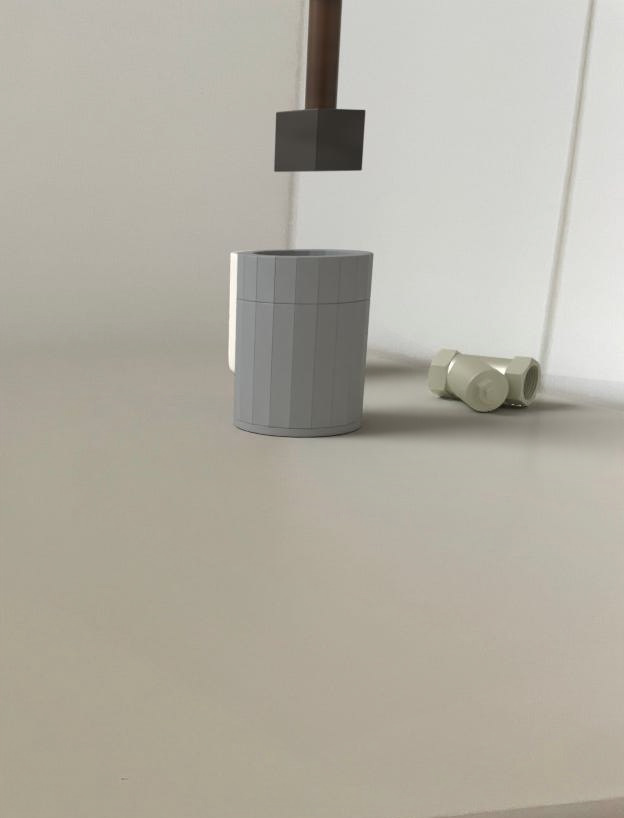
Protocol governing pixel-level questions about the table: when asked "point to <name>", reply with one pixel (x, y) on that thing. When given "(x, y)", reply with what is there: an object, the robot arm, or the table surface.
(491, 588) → the table surface
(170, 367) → the table surface
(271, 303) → the cup
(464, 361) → the pipe fitting
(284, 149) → the hammer
